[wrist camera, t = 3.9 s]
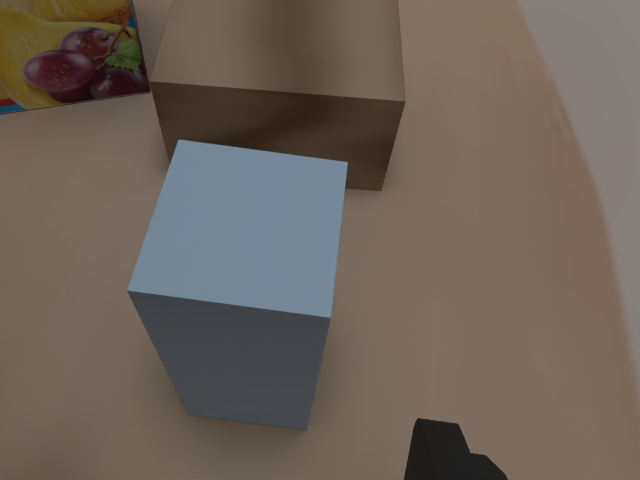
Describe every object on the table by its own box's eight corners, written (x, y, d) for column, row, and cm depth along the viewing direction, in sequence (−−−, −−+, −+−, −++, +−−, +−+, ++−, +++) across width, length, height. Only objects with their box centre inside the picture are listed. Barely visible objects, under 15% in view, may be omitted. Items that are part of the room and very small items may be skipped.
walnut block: (173, 178, 26) (149, 81, 21) (203, 43, 31) (190, -61, 26) (380, 193, 27) (405, 101, 21) (375, 57, 32) (394, -42, 27)
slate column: (188, 414, 20) (126, 290, 12) (213, 306, 22) (178, 139, 14) (306, 430, 20) (330, 318, 12) (319, 321, 22) (347, 162, 14)
